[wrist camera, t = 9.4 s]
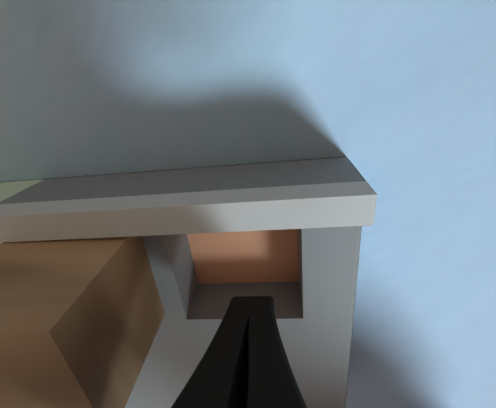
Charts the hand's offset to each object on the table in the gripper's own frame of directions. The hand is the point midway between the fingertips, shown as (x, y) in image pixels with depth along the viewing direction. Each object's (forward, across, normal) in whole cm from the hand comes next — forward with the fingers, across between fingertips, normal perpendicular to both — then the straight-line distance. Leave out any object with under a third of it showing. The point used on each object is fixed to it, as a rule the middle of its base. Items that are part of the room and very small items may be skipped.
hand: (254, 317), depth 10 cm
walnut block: (+2, +6, -1) cm, 7 cm away
